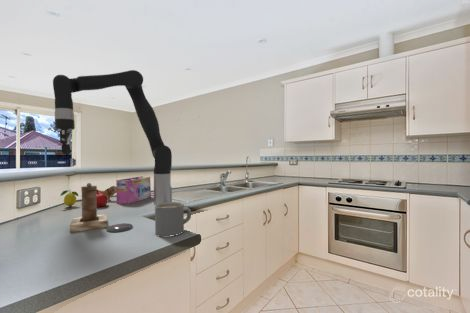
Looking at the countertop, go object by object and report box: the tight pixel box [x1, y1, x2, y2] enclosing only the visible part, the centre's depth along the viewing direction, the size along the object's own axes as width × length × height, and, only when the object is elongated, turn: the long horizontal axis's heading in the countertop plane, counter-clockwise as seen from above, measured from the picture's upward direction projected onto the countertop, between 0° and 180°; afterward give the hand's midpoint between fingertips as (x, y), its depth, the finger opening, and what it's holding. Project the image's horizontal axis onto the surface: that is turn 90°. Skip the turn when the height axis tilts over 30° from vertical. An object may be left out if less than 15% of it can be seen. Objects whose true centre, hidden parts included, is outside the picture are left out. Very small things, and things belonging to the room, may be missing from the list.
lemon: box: [59, 190, 79, 208], centre depth 129 cm, size 7×6×10 cm
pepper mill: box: [80, 182, 98, 222], centre depth 95 cm, size 5×5×17 cm
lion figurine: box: [98, 185, 117, 202], centre depth 145 cm, size 15×5×9 cm, turn 110°
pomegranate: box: [96, 188, 109, 208], centre depth 130 cm, size 10×10×9 cm
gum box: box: [115, 176, 152, 205], centre depth 148 cm, size 24×8×14 cm, turn 166°
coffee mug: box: [154, 201, 192, 237], centre depth 87 cm, size 13×10×10 cm
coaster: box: [105, 223, 133, 233], centre depth 91 cm, size 9×9×1 cm
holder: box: [69, 213, 108, 233], centre depth 95 cm, size 12×12×2 cm
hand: (66, 153), depth 112 cm, fingers open, 8 cm apart
